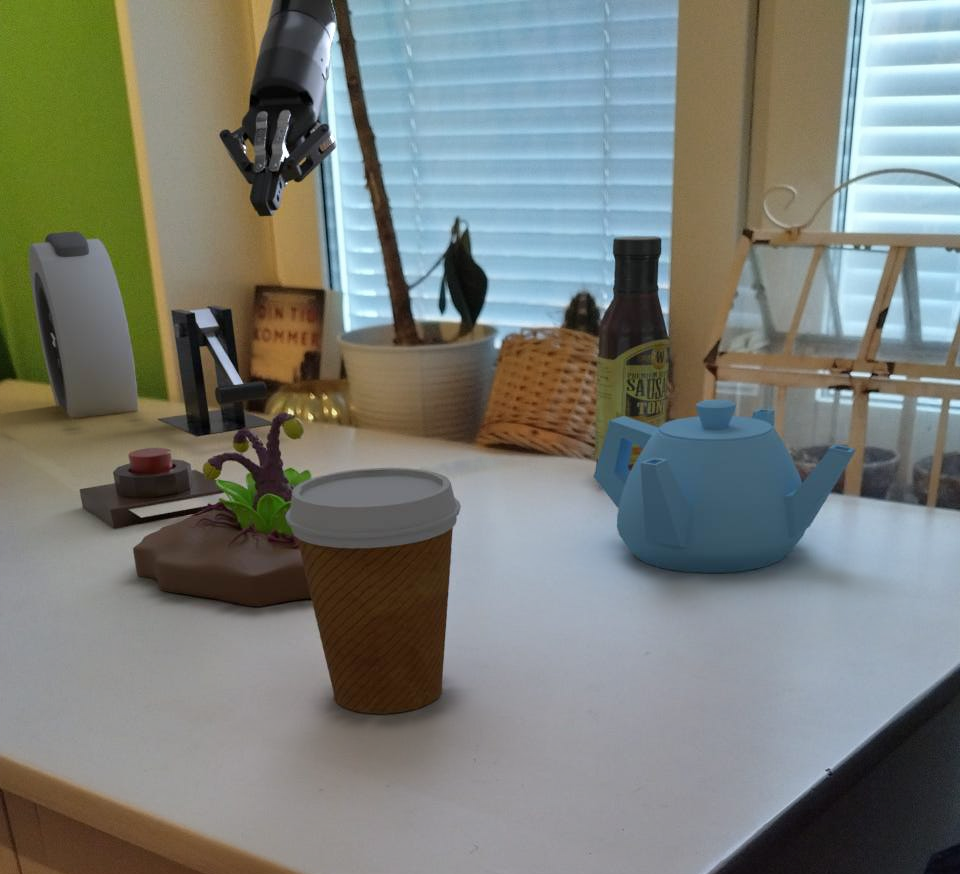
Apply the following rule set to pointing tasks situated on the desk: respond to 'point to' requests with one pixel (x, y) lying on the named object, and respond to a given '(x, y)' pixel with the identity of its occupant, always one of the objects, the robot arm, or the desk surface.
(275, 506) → the plant
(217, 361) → the lever
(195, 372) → the black upright frame
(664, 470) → the teapot
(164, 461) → the button
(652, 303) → the sauce bottle
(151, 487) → the button block
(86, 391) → the alarm clock
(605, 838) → the desk surface
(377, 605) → the disposable coffee cup
